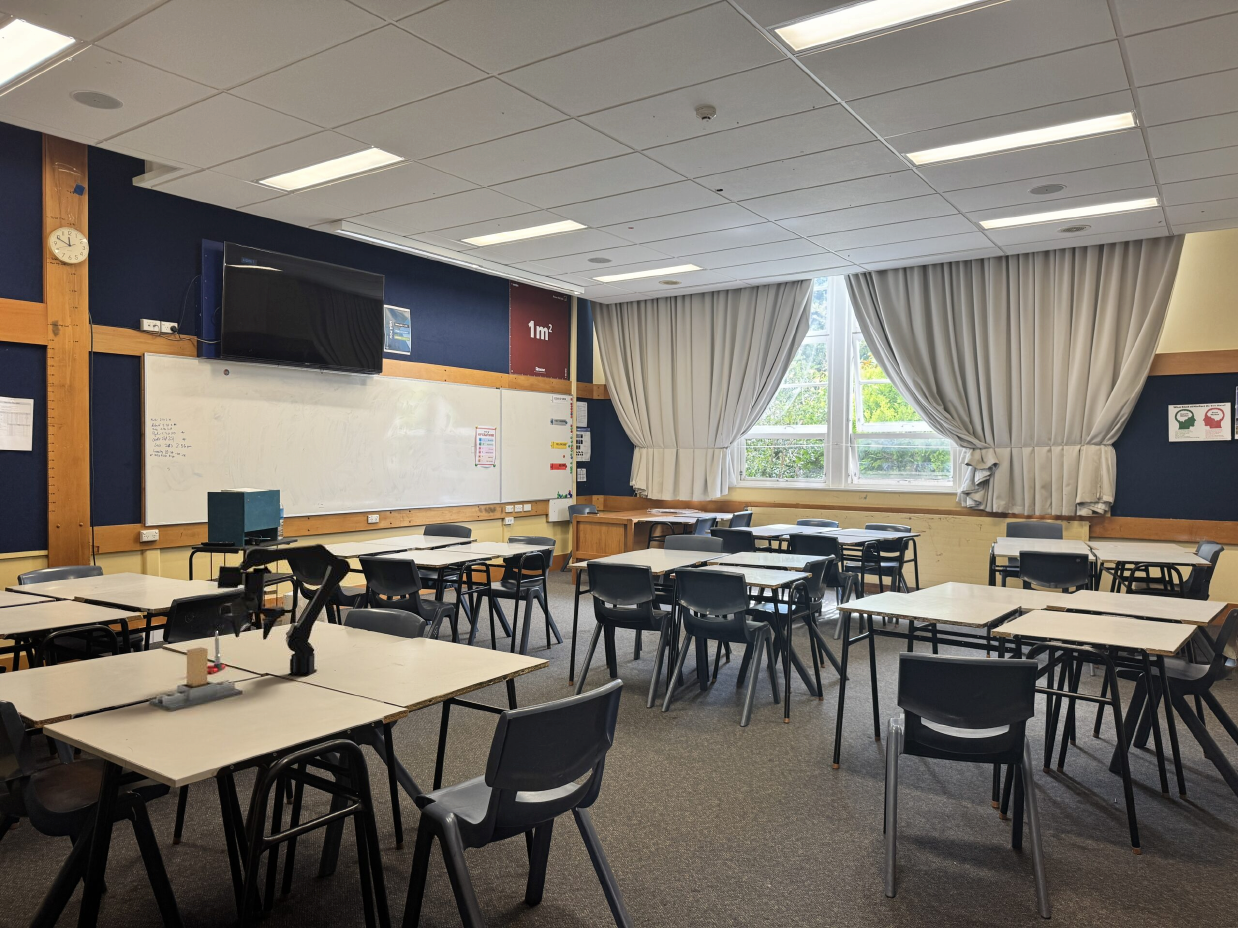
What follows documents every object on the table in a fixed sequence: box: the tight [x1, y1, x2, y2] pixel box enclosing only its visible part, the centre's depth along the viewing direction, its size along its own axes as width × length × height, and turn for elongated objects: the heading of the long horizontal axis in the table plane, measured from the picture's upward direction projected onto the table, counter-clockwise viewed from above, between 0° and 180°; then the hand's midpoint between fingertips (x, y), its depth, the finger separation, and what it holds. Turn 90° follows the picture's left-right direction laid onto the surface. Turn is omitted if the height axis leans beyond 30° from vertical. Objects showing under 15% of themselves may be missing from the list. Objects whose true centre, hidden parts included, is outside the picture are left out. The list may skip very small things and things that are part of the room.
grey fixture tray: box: [148, 679, 244, 712], centre depth 223 cm, size 20×12×4 cm, turn 146°
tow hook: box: [207, 630, 227, 675], centre depth 254 cm, size 8×13×9 cm
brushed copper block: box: [186, 646, 209, 689], centre depth 223 cm, size 4×4×13 cm
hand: (250, 638), depth 244 cm, fingers open, 9 cm apart
